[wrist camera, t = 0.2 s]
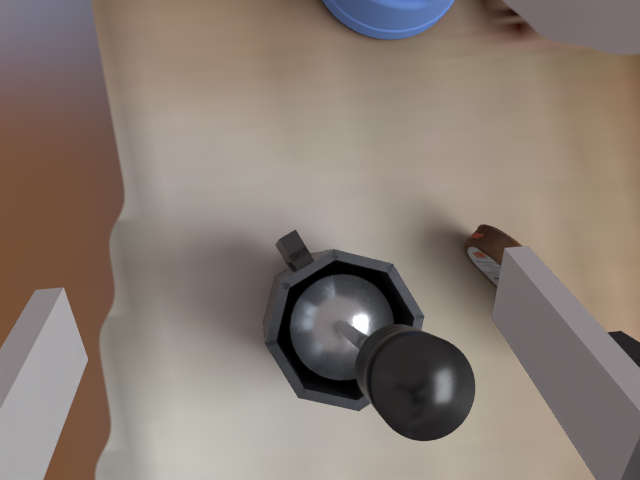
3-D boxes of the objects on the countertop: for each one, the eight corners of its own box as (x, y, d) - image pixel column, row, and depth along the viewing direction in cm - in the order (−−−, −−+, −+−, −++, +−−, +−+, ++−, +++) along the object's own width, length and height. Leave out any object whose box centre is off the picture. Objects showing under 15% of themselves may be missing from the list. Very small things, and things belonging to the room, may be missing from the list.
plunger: (410, 342, 41) (559, 418, 21) (324, 398, 40) (392, 536, 20) (357, 255, 41) (457, 246, 20) (270, 309, 40) (283, 356, 19)
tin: (566, 324, 55) (621, 335, 47) (547, 346, 55) (599, 361, 46) (467, 224, 54) (505, 217, 46) (447, 246, 54) (482, 243, 45)
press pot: (396, 329, 53) (446, 353, 39) (304, 389, 51) (321, 436, 37) (327, 213, 52) (352, 195, 38) (231, 270, 51) (222, 273, 37)
